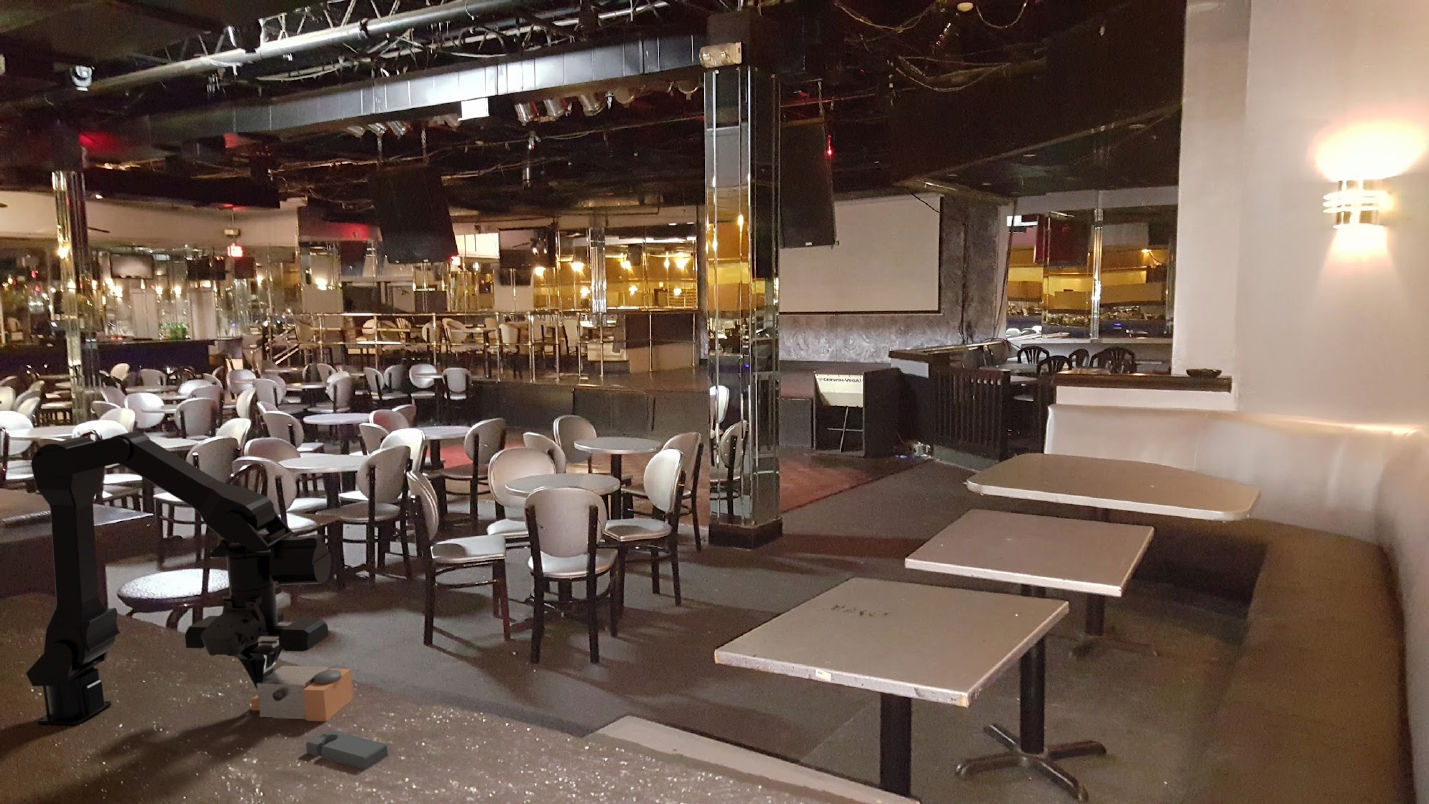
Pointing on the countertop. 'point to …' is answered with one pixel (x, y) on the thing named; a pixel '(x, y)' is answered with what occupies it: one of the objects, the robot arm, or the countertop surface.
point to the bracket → (347, 749)
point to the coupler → (324, 694)
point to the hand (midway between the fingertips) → (262, 690)
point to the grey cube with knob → (286, 691)
